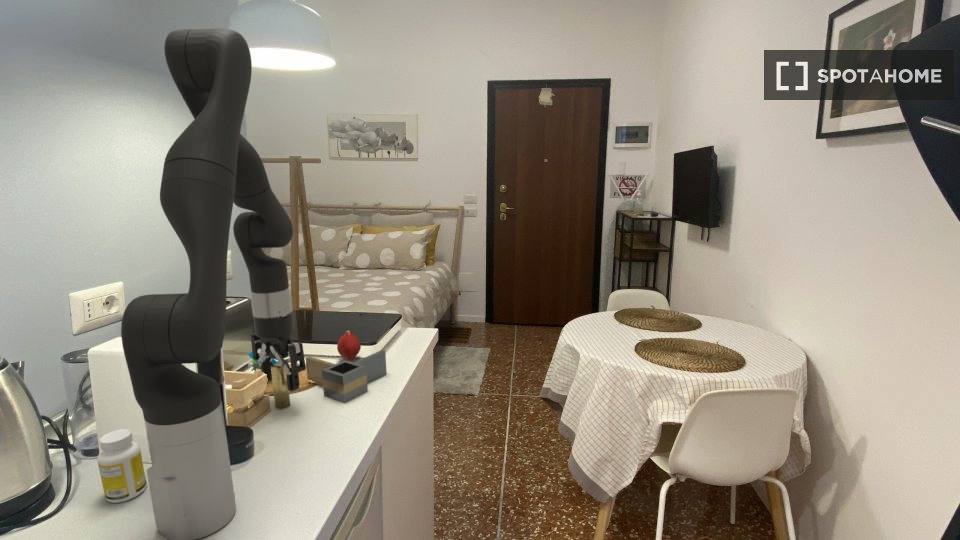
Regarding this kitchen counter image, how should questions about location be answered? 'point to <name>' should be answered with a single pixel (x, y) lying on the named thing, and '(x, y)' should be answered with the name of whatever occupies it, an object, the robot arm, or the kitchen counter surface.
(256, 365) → the blue fuzzy lump
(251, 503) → the kitchen counter surface
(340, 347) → the onion
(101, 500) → the kitchen counter surface
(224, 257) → the robot arm
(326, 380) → the hinge
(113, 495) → the supplement bottle
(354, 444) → the kitchen counter surface
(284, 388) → the hinge pin
